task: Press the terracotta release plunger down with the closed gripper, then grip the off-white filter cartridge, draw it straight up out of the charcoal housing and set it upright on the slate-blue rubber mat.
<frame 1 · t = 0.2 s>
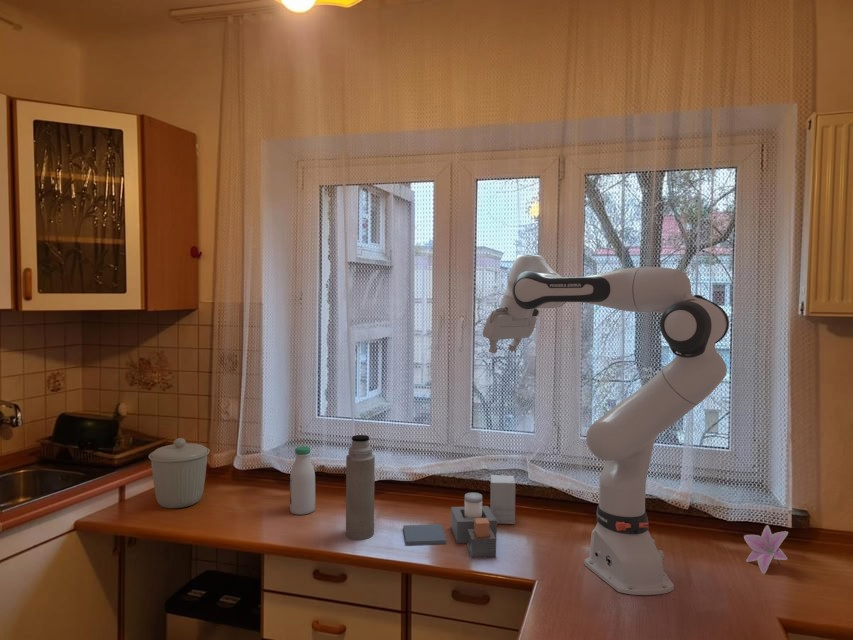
hand: (502, 351, 167), 52 cm above the countertop, tool tilted 20°, fingers open, 8 cm apart
mat: (424, 536, 159), on the countertop
canister: (180, 503, 183), on the countertop
cartridge: (473, 515, 161), in the housing
thermos bottle: (359, 534, 160), on the countertop
lily: (765, 566, 144), on the countertop
plunger: (481, 531, 149), point 5 cm above the countertop, slide at 0.0 cm
supplement box: (502, 520, 172), on the countertop
housing: (472, 534, 161), on the countertop
milk bottle: (302, 511, 177), on the countertop
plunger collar: (481, 552, 150), on the countertop
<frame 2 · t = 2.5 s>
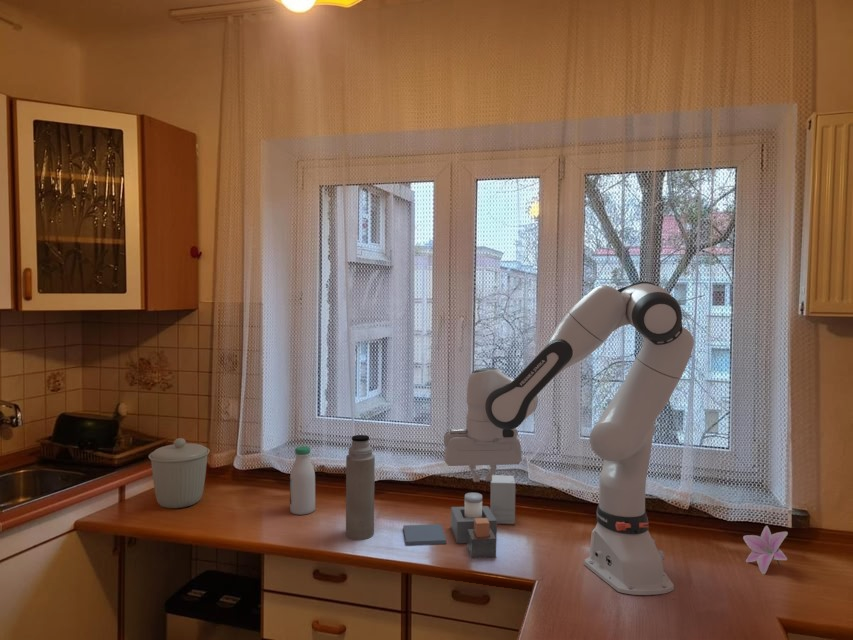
hand: (482, 481, 149), 19 cm above the countertop, tool pointing down, fingers closed
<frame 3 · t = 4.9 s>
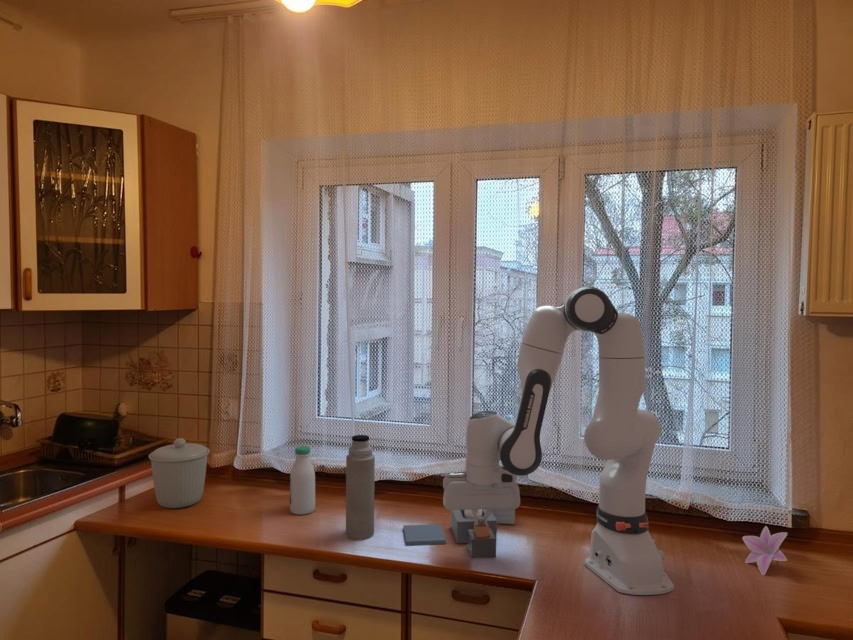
hand: (480, 524, 149), 7 cm above the countertop, tool pointing down, fingers closed
plunger: (481, 536, 149), point 4 cm above the countertop, slide at -1.1 cm, touching gripper
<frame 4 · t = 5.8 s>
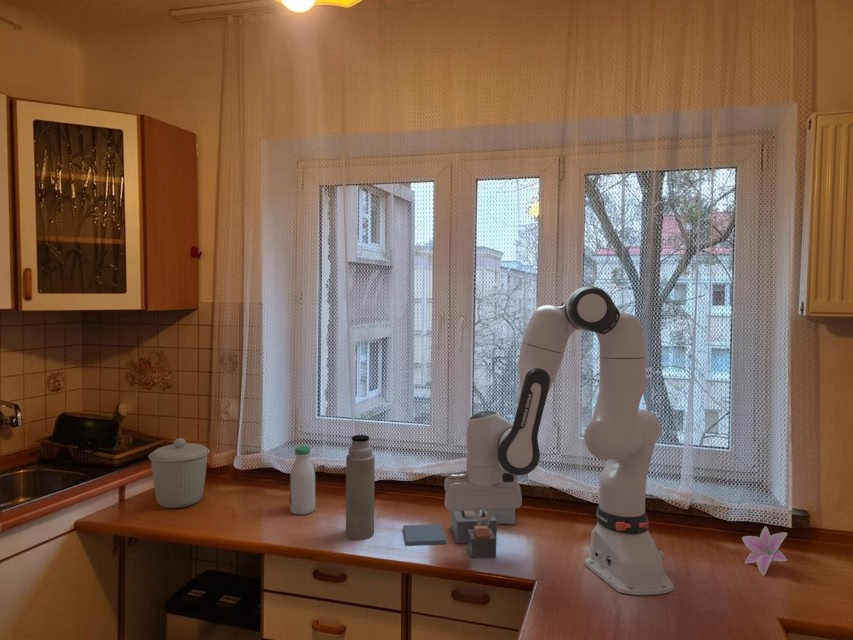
hand: (483, 525, 149), 7 cm above the countertop, tool pointing down, fingers closed
plunger: (481, 539, 149), point 3 cm above the countertop, slide at -2.0 cm
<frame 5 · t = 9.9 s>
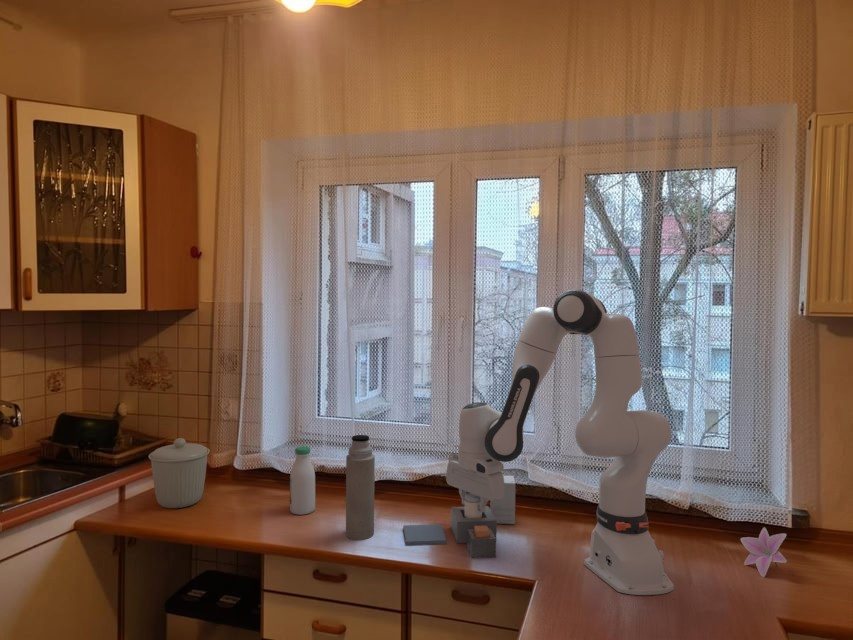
hand: (473, 507, 161), 8 cm above the countertop, tool pointing down, fingers closed on cartridge, 5 cm apart
cartridge: (473, 515, 161), in the housing, touching gripper
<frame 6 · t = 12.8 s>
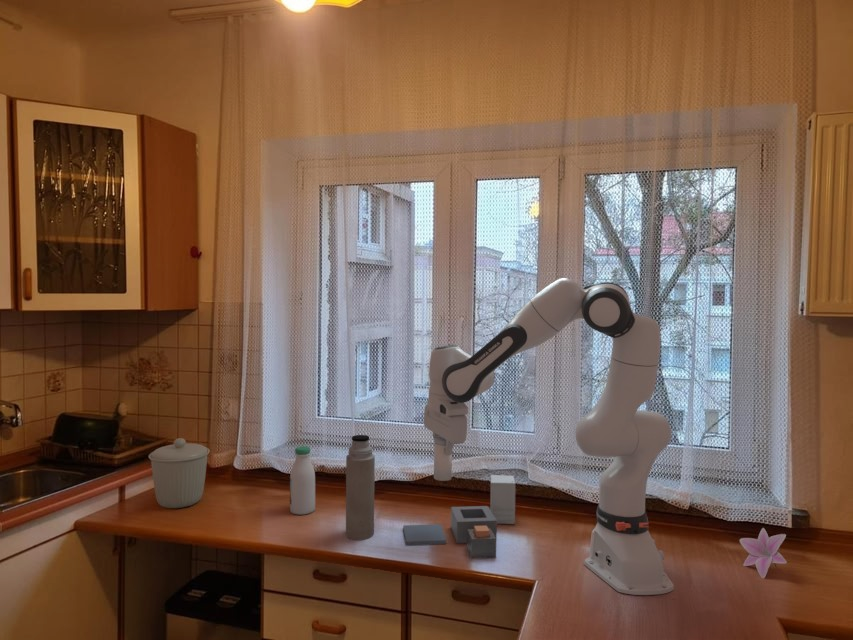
hand: (443, 451, 159), 24 cm above the countertop, tool pointing down, fingers closed on cartridge, 5 cm apart
cartridge: (443, 458, 159), point 22 cm above the countertop, touching gripper
when the fingers open (10 cm above the countertop, at t = 16.1 s): cartridge drops 1 cm, resting on mat.
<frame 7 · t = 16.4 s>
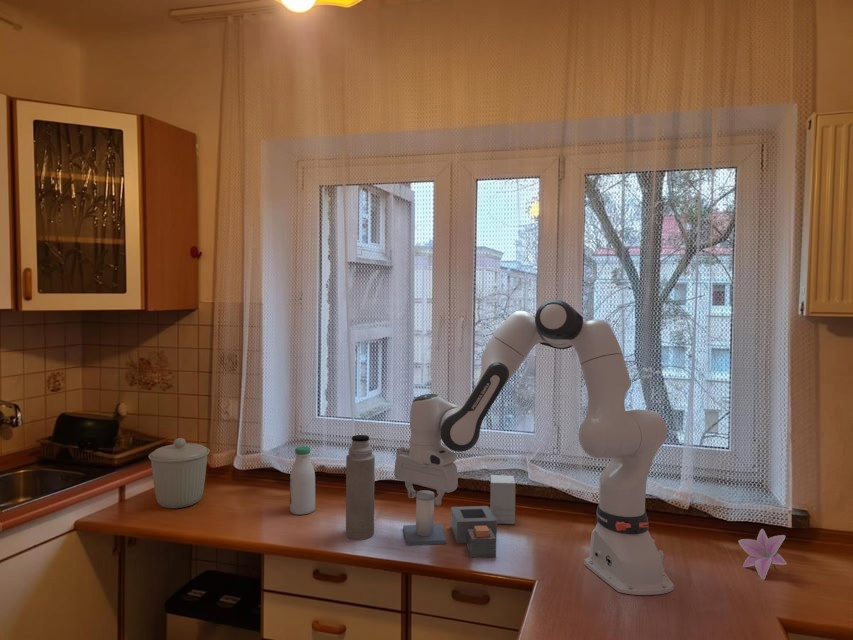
hand: (424, 500, 159), 10 cm above the countertop, tool pointing down, fingers open, 8 cm apart
cartridge: (424, 512, 159), on the mat, point 7 cm above the countertop
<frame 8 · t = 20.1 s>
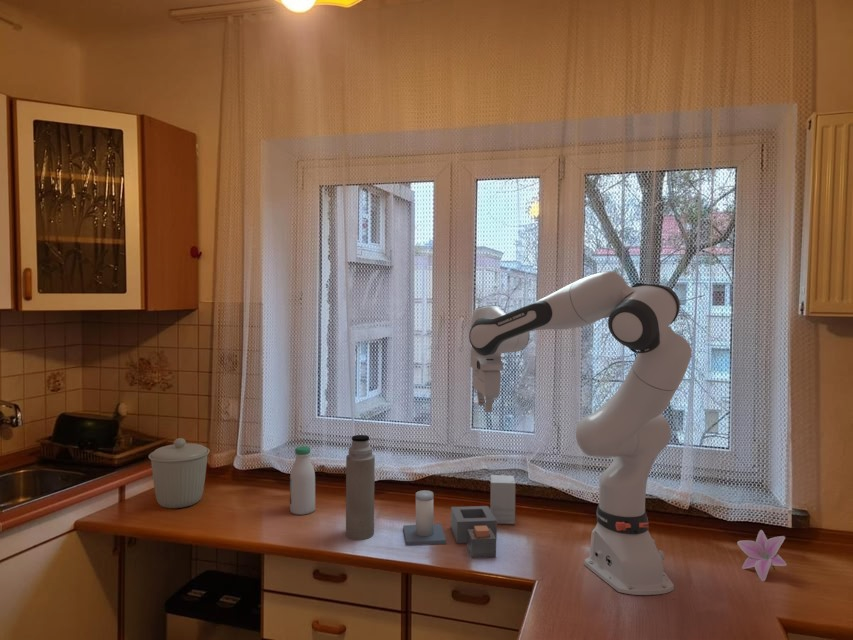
hand: (484, 408, 165), 35 cm above the countertop, tool pointing down, fingers open, 8 cm apart
at the end: plunger slide at -2.0 cm; cartridge inside the target area on the mat (0.1 cm from its centre), point 6.7 cm above the mat's base; cartridge tilted 1° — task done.
